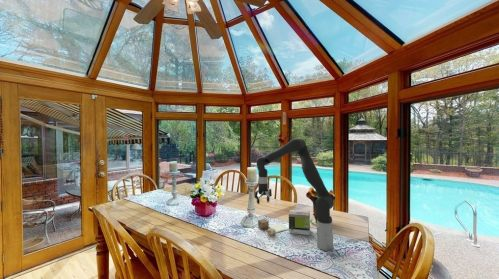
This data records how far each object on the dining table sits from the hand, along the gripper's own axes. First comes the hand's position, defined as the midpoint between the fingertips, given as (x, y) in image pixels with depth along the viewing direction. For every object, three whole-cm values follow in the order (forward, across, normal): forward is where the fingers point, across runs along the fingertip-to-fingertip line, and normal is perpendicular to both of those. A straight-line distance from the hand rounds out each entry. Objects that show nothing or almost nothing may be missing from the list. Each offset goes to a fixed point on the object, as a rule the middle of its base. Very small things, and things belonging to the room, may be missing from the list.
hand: (263, 202), depth 177 cm
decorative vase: (+20, +47, -13) cm, 53 cm away
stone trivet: (+20, +10, -6) cm, 23 cm away
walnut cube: (+20, 0, 0) cm, 20 cm away
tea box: (+20, +20, -19) cm, 34 cm away
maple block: (+20, -1, -13) cm, 24 cm away
